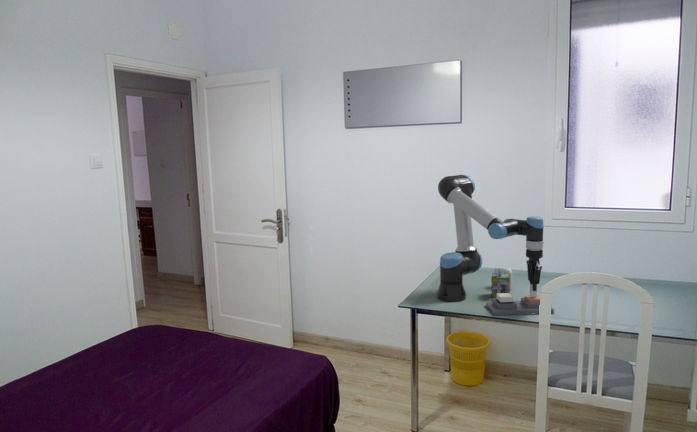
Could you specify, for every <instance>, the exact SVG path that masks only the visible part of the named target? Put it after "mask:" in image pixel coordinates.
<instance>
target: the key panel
mask: <svg viewBox="0 0 697 432" xmlns="http://www.w3.org/2000/svg"><path fill="white" fill-rule="evenodd" d="M539 305H540V302H537V303H528V302H527V301H526V300H525V296H524V297H520V300H513V302H500V301H499V300H498V299H497V298H492V301H486V302H485V306H486V308H487V307H488V308H489V309H490V310H491V311H492V312H491V311H490V310H489V309H488V310H489V311H490V312H491V313H492V315H493V316H509V315H508V314H525V315H533V314H532V313H535V314H534V315H540V314H539ZM536 313H538V314H536ZM551 313H552V314H553V313H554V314H555V309H554V308H553V307H551ZM552 314H551V315H552Z"/></svg>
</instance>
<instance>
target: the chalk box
mask: <svg viewBox="0 0 697 432" xmlns="http://www.w3.org/2000/svg"><path fill="white" fill-rule="evenodd" d="M490 278H491V298H492V299H495V298H496V293H509V294H510V291H511V290H510V274H501V273H500V269H499V273H498V274H496V273H494V272H492V274H491V277H490ZM510 295H511V294H510Z"/></svg>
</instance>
